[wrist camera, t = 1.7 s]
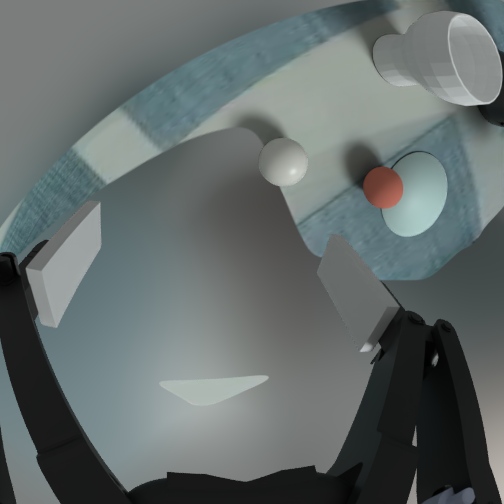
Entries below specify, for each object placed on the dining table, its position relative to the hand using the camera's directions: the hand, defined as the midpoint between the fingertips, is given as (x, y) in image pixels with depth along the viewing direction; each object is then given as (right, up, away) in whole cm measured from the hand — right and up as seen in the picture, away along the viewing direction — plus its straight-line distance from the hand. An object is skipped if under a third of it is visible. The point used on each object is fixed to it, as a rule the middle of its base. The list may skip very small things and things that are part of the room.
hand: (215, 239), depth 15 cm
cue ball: (+5, +9, +15) cm, 19 cm away
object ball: (+19, +8, +18) cm, 27 cm away
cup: (+21, +25, +12) cm, 35 cm away
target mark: (+27, +8, +22) cm, 36 cm away
